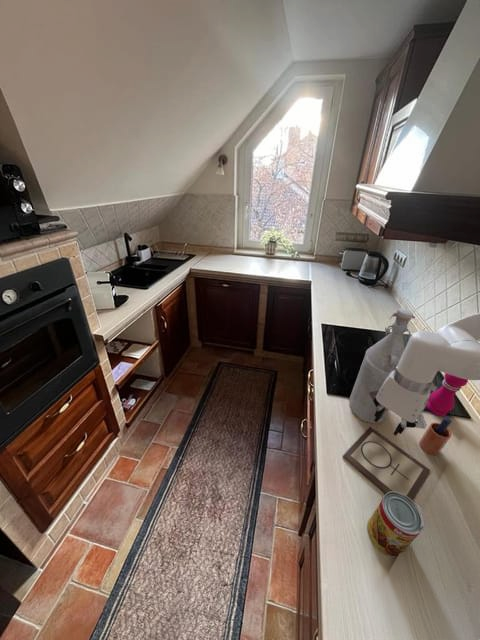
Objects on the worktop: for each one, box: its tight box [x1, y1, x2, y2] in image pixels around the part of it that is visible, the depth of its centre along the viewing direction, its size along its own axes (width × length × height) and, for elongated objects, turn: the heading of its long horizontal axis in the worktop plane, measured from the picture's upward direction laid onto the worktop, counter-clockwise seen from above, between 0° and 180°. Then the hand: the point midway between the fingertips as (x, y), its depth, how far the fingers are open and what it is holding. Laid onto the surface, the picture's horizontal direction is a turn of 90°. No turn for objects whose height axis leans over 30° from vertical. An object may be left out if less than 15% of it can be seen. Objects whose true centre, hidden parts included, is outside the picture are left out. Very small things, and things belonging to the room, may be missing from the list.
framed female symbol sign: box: [342, 426, 431, 502], centre depth 74 cm, size 18×16×1 cm
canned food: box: [366, 491, 425, 557], centre depth 57 cm, size 8×8×12 cm
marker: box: [435, 416, 452, 436], centre depth 76 cm, size 2×2×13 cm
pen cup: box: [418, 422, 452, 456], centre depth 77 cm, size 5×5×9 cm
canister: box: [348, 307, 416, 424], centre depth 82 cm, size 13×17×40 cm
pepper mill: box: [425, 373, 469, 417], centre depth 87 cm, size 7×7×20 cm
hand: (387, 425), depth 72 cm, fingers open, 4 cm apart
